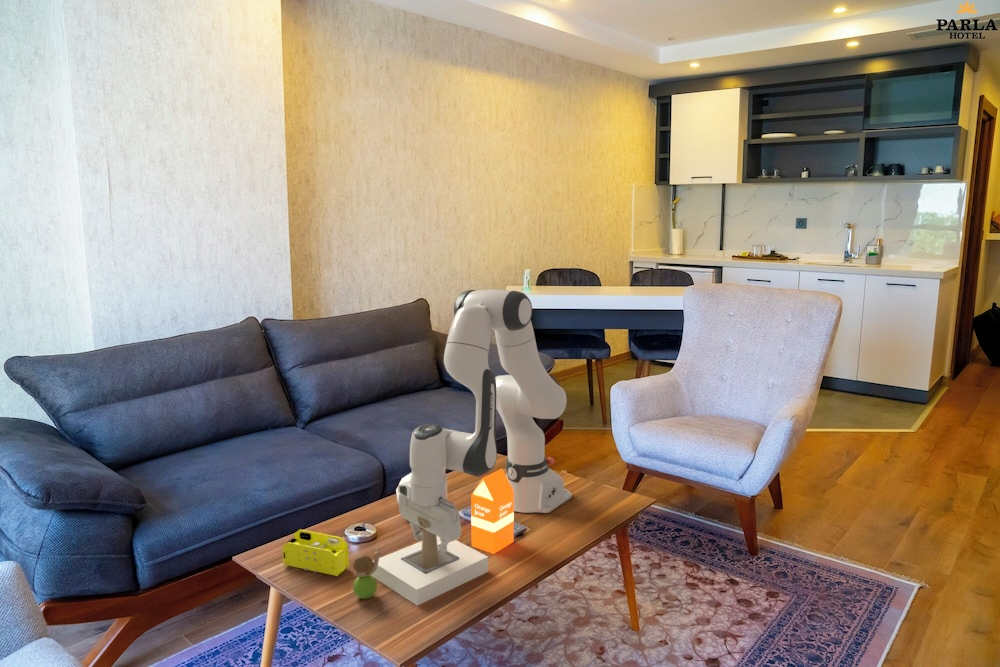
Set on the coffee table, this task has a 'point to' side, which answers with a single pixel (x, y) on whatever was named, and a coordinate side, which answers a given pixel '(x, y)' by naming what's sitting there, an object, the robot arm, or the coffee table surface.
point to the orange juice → (492, 513)
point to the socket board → (429, 571)
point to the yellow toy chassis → (316, 552)
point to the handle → (428, 546)
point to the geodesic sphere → (403, 480)
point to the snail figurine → (365, 575)
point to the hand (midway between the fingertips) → (430, 545)
